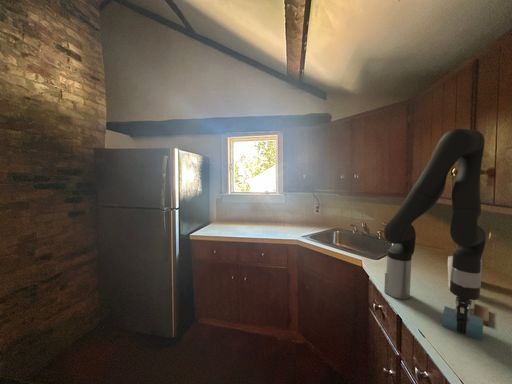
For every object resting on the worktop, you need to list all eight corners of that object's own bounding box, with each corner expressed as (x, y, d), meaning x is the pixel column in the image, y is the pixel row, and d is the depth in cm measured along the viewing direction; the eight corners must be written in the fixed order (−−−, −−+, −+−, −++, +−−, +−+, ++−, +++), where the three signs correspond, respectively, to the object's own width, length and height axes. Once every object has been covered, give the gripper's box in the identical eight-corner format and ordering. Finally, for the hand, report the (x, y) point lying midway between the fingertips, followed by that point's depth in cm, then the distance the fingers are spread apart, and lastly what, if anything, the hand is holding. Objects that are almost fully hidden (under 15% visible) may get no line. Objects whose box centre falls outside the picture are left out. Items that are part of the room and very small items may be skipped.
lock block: (442, 325, 79) (442, 312, 78) (444, 318, 83) (444, 306, 82) (481, 341, 71) (483, 326, 71) (482, 332, 75) (483, 318, 75)
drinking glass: (455, 285, 107) (457, 255, 105) (469, 292, 100) (472, 261, 99) (442, 285, 106) (444, 255, 105) (455, 293, 100) (457, 261, 98)
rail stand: (454, 314, 85) (455, 304, 85) (457, 301, 93) (458, 292, 93) (488, 325, 78) (489, 315, 78) (488, 311, 87) (489, 301, 86)
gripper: (452, 271, 83) (449, 313, 85) (448, 285, 73) (445, 332, 75) (480, 278, 78) (477, 323, 79) (480, 293, 68) (476, 344, 69)
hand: (461, 327), depth 77 cm, fingers closed on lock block, 5 cm apart
